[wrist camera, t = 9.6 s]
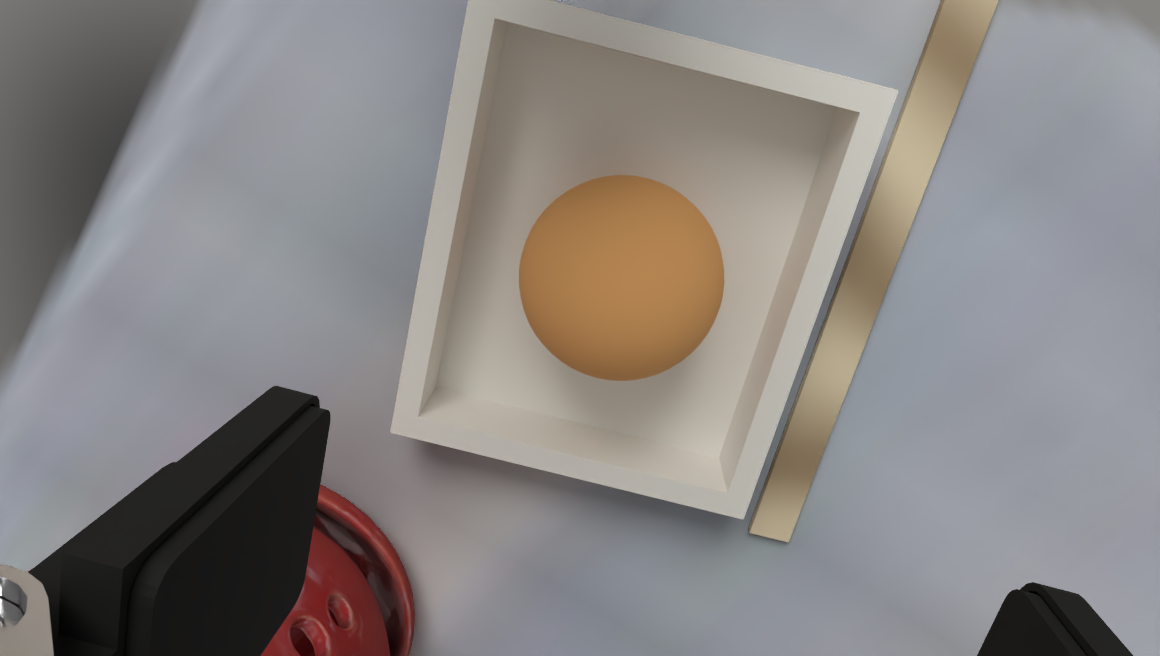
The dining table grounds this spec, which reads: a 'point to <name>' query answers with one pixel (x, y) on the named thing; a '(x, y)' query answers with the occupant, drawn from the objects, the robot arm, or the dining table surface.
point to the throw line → (872, 258)
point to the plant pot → (348, 590)
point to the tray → (651, 150)
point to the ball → (621, 277)
